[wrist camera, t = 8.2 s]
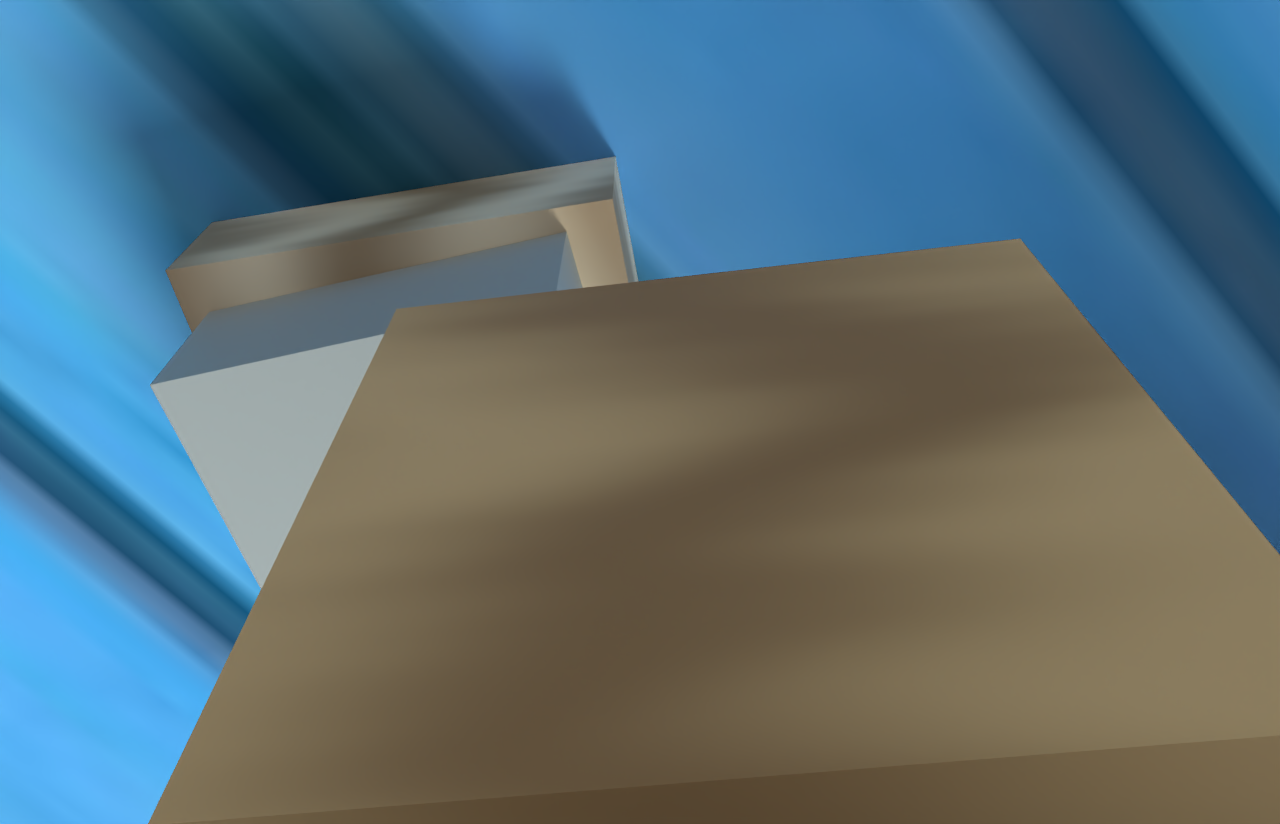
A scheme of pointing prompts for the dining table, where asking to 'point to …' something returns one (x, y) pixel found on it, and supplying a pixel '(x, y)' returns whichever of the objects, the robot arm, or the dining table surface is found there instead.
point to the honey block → (755, 572)
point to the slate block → (311, 377)
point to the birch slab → (407, 235)
